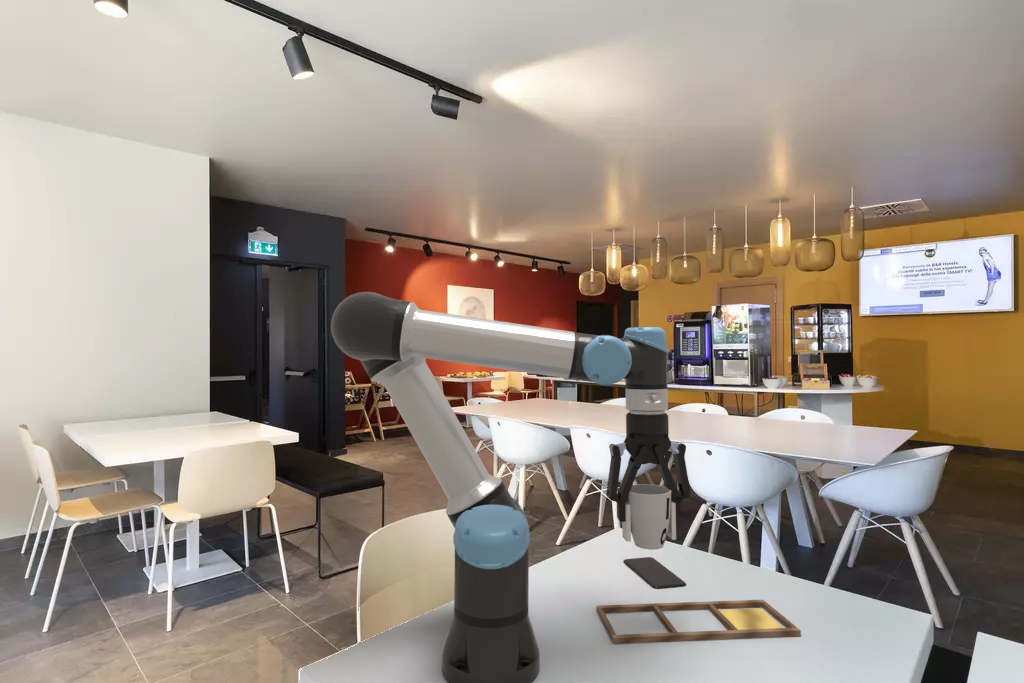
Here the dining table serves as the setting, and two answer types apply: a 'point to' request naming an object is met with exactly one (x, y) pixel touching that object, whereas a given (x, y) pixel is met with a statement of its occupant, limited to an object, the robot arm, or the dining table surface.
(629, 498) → the cup
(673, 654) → the dining table surface
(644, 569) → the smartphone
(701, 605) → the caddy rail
